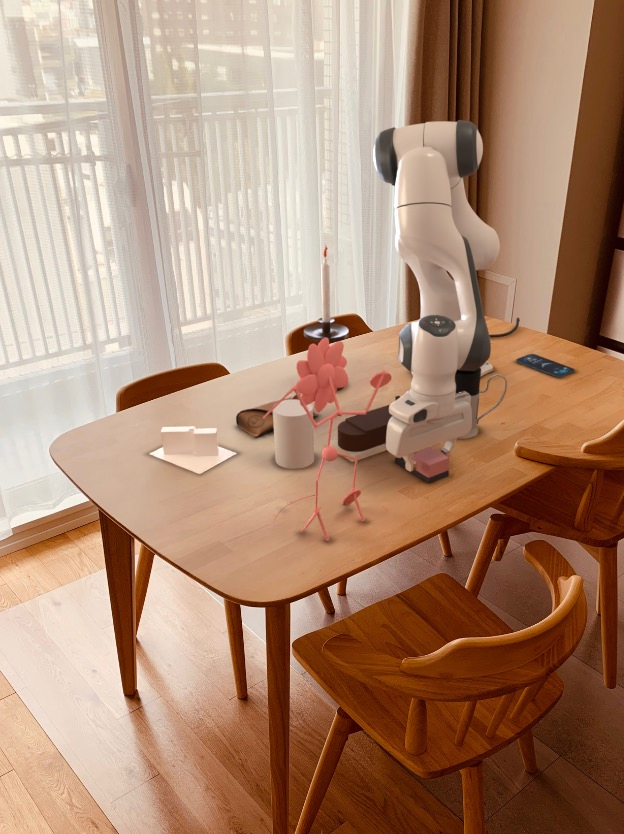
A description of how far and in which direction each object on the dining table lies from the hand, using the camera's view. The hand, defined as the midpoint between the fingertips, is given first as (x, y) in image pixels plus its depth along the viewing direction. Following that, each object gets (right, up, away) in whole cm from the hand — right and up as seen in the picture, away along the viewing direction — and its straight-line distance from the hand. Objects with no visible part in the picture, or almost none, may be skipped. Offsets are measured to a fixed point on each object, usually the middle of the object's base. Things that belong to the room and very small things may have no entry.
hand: (428, 463), depth 164 cm
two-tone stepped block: (-1, -1, +3) cm, 4 cm away
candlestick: (-24, +22, +39) cm, 51 cm away
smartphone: (+34, +29, +53) cm, 69 cm away
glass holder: (+11, +9, +19) cm, 24 cm away
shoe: (-11, +5, +13) cm, 18 cm away
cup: (-28, +1, +6) cm, 29 cm away
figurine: (-21, -11, -13) cm, 27 cm away
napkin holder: (-50, +2, +7) cm, 50 cm away
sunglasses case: (-33, +11, +21) cm, 41 cm away
